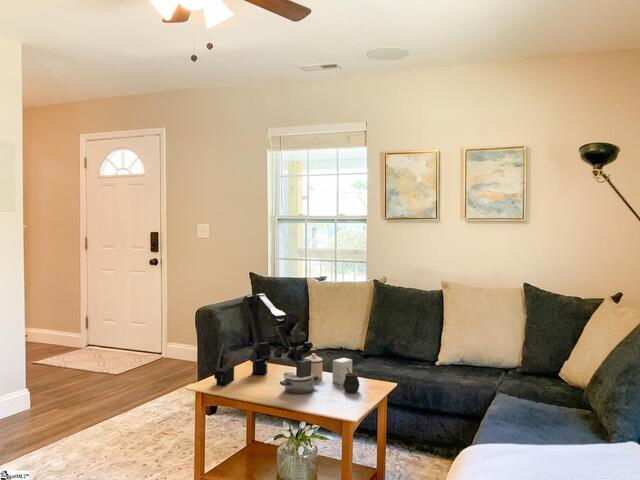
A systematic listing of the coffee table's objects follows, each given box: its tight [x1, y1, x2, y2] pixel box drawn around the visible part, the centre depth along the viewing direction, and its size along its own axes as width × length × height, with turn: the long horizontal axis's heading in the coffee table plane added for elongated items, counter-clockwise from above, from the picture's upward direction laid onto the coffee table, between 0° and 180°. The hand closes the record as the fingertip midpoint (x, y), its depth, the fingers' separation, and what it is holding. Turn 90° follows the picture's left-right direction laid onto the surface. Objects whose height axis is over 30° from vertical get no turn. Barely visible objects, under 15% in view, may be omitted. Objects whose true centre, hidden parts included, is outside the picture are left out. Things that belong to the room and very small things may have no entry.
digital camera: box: [213, 365, 235, 388], centre depth 254 cm, size 10×5×7 cm, turn 165°
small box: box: [332, 357, 353, 386], centre depth 258 cm, size 8×6×10 cm
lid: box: [283, 358, 313, 381], centre depth 245 cm, size 13×13×8 cm
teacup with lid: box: [304, 353, 324, 381], centre depth 265 cm, size 12×9×12 cm
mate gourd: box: [342, 368, 360, 394], centre depth 244 cm, size 7×8×10 cm
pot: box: [279, 375, 319, 396], centre depth 245 cm, size 13×19×6 cm
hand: (301, 365), depth 244 cm, fingers closed, pressing on lid
